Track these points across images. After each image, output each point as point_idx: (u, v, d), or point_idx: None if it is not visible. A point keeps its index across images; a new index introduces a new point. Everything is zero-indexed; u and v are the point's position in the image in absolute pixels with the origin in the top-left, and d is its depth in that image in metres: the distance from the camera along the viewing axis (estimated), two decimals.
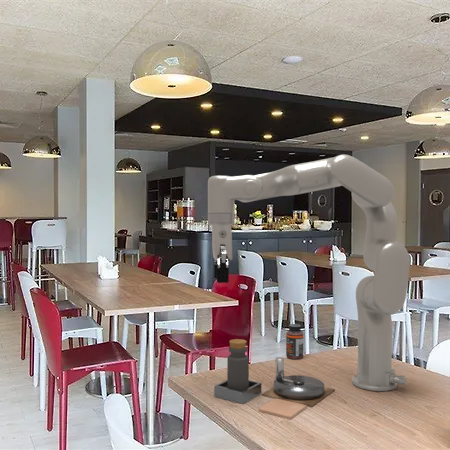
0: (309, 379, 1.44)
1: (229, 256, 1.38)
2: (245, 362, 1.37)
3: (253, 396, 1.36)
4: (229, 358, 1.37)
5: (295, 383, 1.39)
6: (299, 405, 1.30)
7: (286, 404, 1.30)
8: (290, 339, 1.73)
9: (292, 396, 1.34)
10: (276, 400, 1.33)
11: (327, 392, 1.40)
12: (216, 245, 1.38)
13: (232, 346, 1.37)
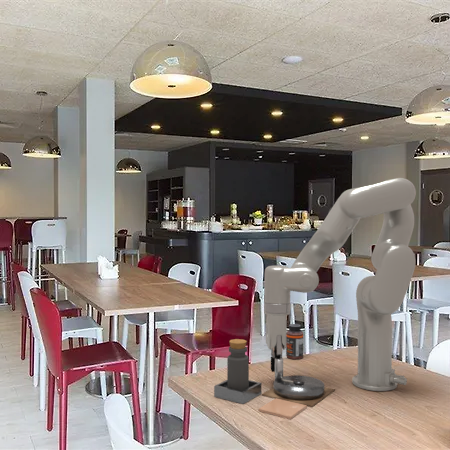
0: (308, 379, 1.44)
1: None
2: (245, 362, 1.37)
3: (253, 396, 1.36)
4: (229, 358, 1.37)
5: (295, 383, 1.39)
6: (299, 405, 1.30)
7: (286, 404, 1.30)
8: (290, 339, 1.73)
9: (294, 396, 1.34)
10: (276, 400, 1.33)
11: (327, 392, 1.40)
12: None
13: (232, 346, 1.37)
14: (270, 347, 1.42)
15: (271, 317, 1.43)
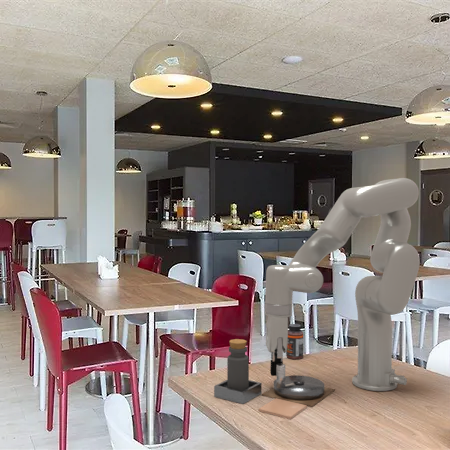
0: (291, 377, 1.45)
1: None
2: (245, 362, 1.37)
3: (253, 396, 1.36)
4: (229, 358, 1.37)
5: (301, 383, 1.39)
6: (299, 405, 1.30)
7: (286, 404, 1.30)
8: (290, 339, 1.73)
9: (319, 394, 1.35)
10: (276, 400, 1.33)
11: (327, 392, 1.40)
12: None
13: (232, 346, 1.37)
14: (270, 350, 1.36)
15: (272, 318, 1.37)
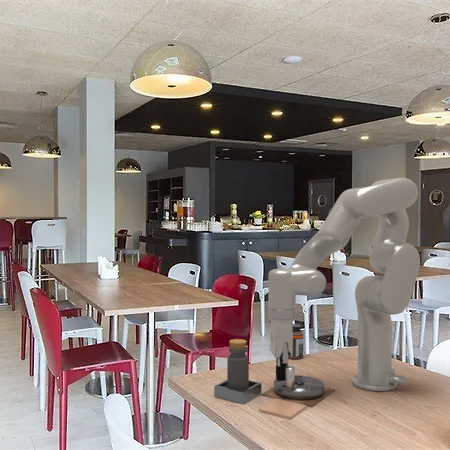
0: None
1: None
2: (245, 362, 1.37)
3: (253, 396, 1.36)
4: (229, 358, 1.37)
5: (303, 383, 1.39)
6: (299, 405, 1.30)
7: (286, 404, 1.30)
8: None
9: None
10: (276, 400, 1.33)
11: (327, 392, 1.40)
12: None
13: (232, 346, 1.37)
14: (276, 355, 1.35)
15: (276, 323, 1.35)
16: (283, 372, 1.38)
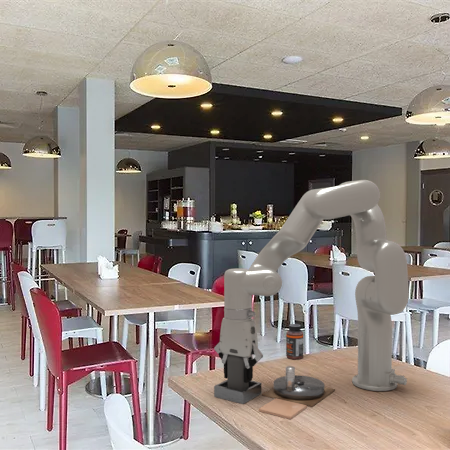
0: (284, 379, 1.44)
1: None
2: None
3: (253, 396, 1.36)
4: (229, 358, 1.37)
5: (303, 383, 1.39)
6: (299, 405, 1.30)
7: (286, 404, 1.30)
8: (290, 339, 1.73)
9: None
10: (276, 400, 1.33)
11: (327, 392, 1.40)
12: (249, 343, 1.34)
13: None
14: None
15: None
16: None
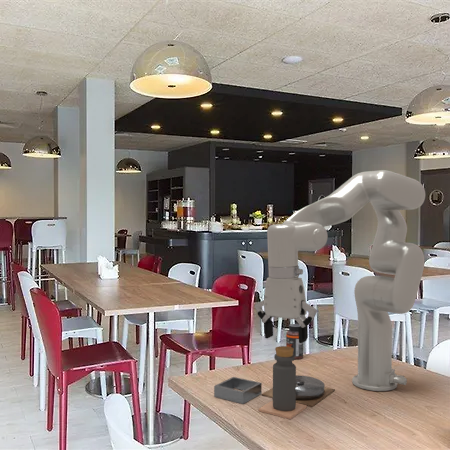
0: None
1: (305, 312, 1.27)
2: (292, 371, 1.26)
3: (253, 396, 1.36)
4: (275, 367, 1.27)
5: (303, 383, 1.39)
6: (299, 405, 1.30)
7: None
8: (290, 339, 1.73)
9: None
10: None
11: (327, 392, 1.40)
12: (298, 302, 1.24)
13: (279, 354, 1.27)
14: None
15: None
16: None
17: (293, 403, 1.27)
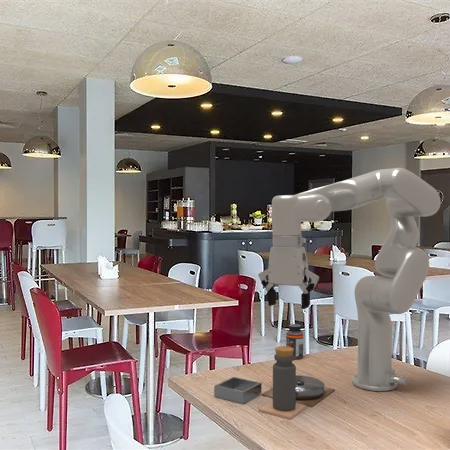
0: None
1: (308, 279, 1.32)
2: (292, 371, 1.26)
3: (253, 396, 1.36)
4: (275, 367, 1.27)
5: (303, 383, 1.39)
6: (299, 405, 1.30)
7: None
8: (290, 339, 1.73)
9: None
10: None
11: (327, 392, 1.40)
12: (301, 269, 1.29)
13: (278, 354, 1.27)
14: None
15: None
16: None
17: (293, 403, 1.27)
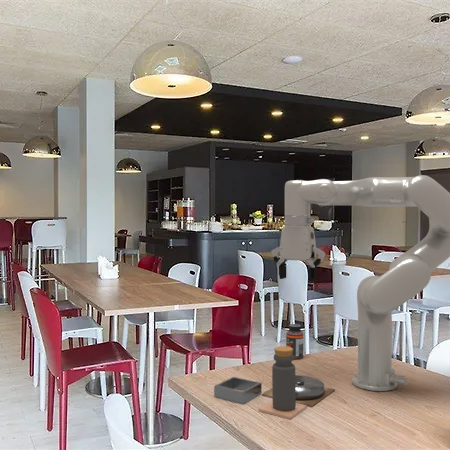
0: None
1: (315, 256, 1.49)
2: (292, 371, 1.26)
3: (253, 396, 1.36)
4: (275, 367, 1.27)
5: (303, 383, 1.39)
6: (299, 405, 1.30)
7: None
8: (290, 339, 1.73)
9: None
10: None
11: (327, 392, 1.40)
12: (309, 246, 1.46)
13: (278, 354, 1.27)
14: None
15: None
16: None
17: (293, 403, 1.27)
